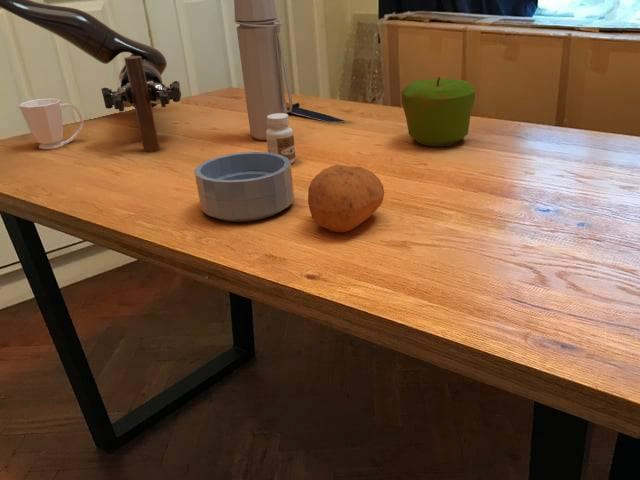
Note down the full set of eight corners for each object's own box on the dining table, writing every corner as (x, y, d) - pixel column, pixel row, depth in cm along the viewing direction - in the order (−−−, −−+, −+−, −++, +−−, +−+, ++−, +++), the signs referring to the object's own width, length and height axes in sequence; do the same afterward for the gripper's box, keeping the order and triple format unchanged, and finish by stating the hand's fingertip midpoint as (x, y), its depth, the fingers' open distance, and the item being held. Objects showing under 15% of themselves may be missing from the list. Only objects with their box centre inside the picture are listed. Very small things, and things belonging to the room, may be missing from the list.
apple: (475, 132, 122) (477, 69, 116) (471, 152, 111) (473, 83, 106) (408, 131, 124) (407, 69, 118) (398, 150, 113) (396, 83, 108)
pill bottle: (285, 167, 108) (280, 120, 104) (264, 164, 109) (258, 117, 106) (301, 159, 111) (296, 113, 107) (280, 156, 113) (275, 111, 109)
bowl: (208, 231, 85) (200, 187, 83) (197, 199, 96) (189, 159, 93) (304, 215, 89) (300, 172, 86) (283, 186, 100) (278, 147, 97)
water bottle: (241, 140, 123) (221, -7, 111) (265, 129, 129) (248, -11, 117) (283, 144, 119) (266, -7, 107) (306, 133, 125) (292, -11, 113)
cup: (27, 145, 124) (14, 102, 121) (82, 135, 129) (71, 93, 126) (35, 153, 119) (22, 109, 116) (92, 143, 124) (81, 99, 121)
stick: (144, 152, 118) (124, 59, 110) (143, 148, 120) (123, 56, 112) (160, 150, 118) (141, 57, 111) (159, 146, 121) (141, 55, 113)
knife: (337, 134, 130) (353, 124, 133) (335, 121, 129) (351, 111, 132) (249, 110, 144) (265, 101, 147) (246, 98, 142) (263, 90, 145)
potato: (291, 228, 86) (285, 173, 82) (348, 201, 93) (344, 150, 90) (345, 245, 80) (341, 186, 77) (400, 215, 88) (399, 161, 84)
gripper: (98, 68, 123) (91, 85, 109) (177, 61, 127) (180, 76, 113) (107, 108, 127) (102, 129, 113) (184, 100, 131) (188, 120, 117)
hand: (141, 103), depth 113 cm, fingers open, 6 cm apart
